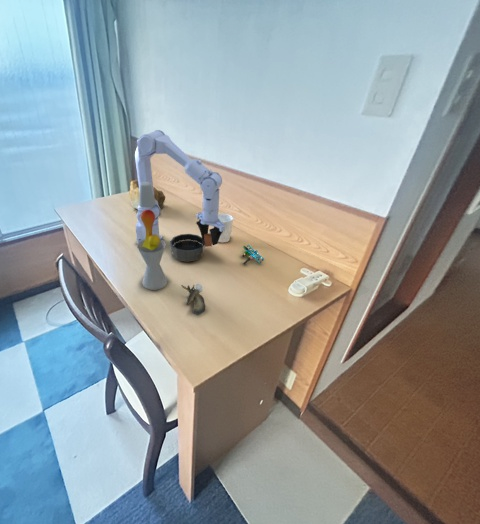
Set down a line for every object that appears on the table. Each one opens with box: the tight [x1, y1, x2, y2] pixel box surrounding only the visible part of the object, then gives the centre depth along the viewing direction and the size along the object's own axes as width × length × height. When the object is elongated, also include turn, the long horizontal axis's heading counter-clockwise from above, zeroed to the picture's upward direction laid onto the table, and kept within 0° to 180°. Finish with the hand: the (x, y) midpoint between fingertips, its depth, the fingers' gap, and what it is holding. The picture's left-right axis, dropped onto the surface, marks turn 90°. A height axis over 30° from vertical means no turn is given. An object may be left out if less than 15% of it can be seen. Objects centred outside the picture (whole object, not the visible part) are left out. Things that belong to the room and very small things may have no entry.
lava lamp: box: [136, 182, 168, 291], centre depth 88 cm, size 9×9×35 cm
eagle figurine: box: [181, 283, 206, 316], centre depth 86 cm, size 8×7×9 cm
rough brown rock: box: [129, 179, 166, 210], centre depth 148 cm, size 23×17×15 cm
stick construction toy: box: [241, 244, 265, 266], centre depth 106 cm, size 12×7×8 cm
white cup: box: [218, 213, 234, 243], centre depth 119 cm, size 8×8×10 cm
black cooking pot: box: [169, 232, 213, 263], centre depth 109 cm, size 16×13×8 cm
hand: (209, 241), depth 109 cm, fingers open, 6 cm apart
